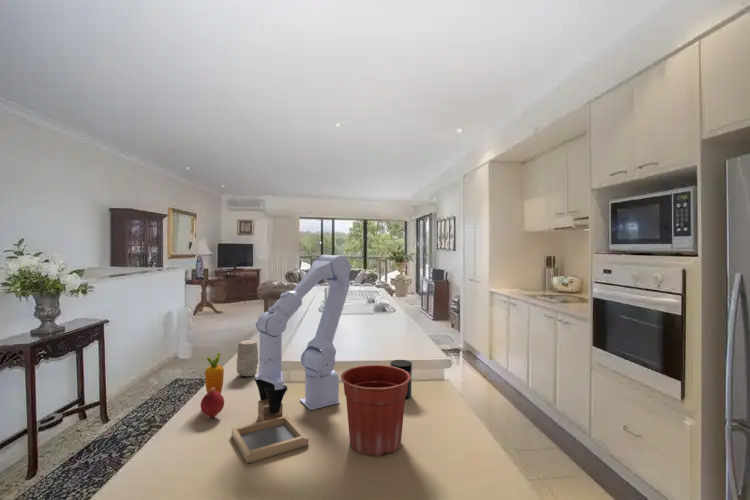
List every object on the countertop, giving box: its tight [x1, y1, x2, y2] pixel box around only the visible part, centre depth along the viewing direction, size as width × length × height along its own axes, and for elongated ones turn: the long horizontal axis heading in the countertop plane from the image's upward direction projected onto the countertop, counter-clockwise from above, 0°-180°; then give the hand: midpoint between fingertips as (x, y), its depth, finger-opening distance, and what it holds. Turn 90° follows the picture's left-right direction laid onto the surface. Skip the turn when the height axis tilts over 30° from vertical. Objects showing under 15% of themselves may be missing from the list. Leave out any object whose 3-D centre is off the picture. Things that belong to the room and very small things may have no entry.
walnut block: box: [257, 399, 284, 422], centre depth 103 cm, size 5×5×4 cm
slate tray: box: [231, 414, 309, 465], centre depth 91 cm, size 14×14×2 cm
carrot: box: [204, 352, 225, 395], centre depth 111 cm, size 5×5×15 cm
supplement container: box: [389, 359, 413, 401], centre depth 119 cm, size 7×7×10 cm
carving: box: [236, 339, 259, 377], centre depth 137 cm, size 6×8×12 cm
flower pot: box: [340, 364, 411, 456], centre depth 91 cm, size 16×16×16 cm
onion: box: [200, 388, 225, 419], centre depth 103 cm, size 6×6×8 cm
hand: (269, 407), depth 103 cm, fingers open, 7 cm apart
